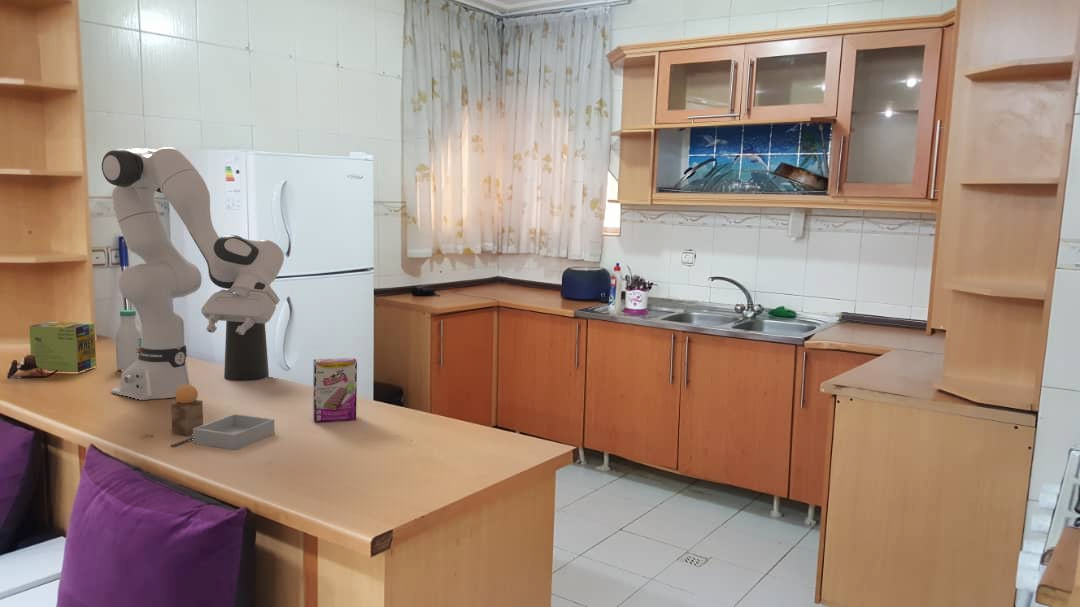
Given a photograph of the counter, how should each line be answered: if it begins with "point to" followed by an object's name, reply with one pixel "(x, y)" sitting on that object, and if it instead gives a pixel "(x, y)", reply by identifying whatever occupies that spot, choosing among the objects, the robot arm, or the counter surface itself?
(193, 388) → the ball
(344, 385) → the candy bar box
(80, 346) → the protein box
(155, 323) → the robot arm
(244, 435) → the tray
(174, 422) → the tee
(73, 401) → the counter surface
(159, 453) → the counter surface
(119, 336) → the milk bottle
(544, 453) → the counter surface
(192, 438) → the line
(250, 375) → the vase
